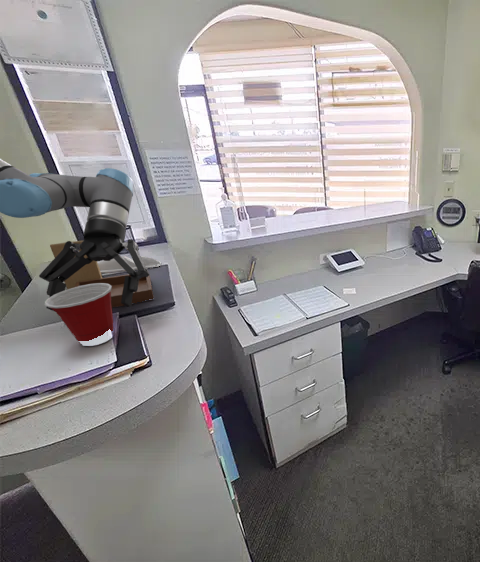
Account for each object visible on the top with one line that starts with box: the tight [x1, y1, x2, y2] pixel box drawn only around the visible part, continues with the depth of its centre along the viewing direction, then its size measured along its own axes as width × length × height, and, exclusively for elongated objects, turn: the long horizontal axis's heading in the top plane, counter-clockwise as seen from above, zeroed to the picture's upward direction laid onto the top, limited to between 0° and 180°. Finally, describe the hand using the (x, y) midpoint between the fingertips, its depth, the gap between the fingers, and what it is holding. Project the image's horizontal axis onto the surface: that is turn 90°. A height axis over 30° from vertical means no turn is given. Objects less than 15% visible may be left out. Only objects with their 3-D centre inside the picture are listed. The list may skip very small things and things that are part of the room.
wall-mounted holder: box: [97, 255, 162, 275], centre depth 111 cm, size 6×5×20 cm
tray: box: [75, 273, 155, 309], centre depth 90 cm, size 18×18×3 cm
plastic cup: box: [43, 283, 114, 342], centre depth 67 cm, size 11×11×12 cm
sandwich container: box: [49, 240, 103, 290], centre depth 97 cm, size 9×15×15 cm, turn 42°
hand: (90, 307), depth 68 cm, fingers open, 13 cm apart
